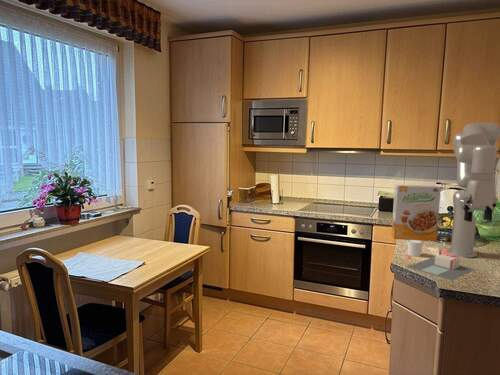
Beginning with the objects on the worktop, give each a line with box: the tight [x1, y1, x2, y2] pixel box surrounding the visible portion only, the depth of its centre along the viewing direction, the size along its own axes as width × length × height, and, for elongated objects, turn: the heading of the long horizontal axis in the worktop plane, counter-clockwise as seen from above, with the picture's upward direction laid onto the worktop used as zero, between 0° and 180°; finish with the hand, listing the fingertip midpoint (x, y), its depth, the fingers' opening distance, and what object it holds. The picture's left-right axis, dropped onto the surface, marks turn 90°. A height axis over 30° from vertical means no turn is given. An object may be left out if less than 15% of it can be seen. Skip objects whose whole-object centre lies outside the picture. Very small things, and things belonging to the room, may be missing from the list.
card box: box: [434, 254, 460, 269], centre depth 163 cm, size 8×6×4 cm
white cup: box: [406, 240, 424, 257], centre depth 179 cm, size 7×7×7 cm
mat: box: [406, 257, 476, 281], centre depth 160 cm, size 22×19×1 cm
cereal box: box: [391, 184, 442, 242], centre depth 209 cm, size 22×6×30 cm, turn 82°
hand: (477, 220), depth 148 cm, fingers open, 9 cm apart
